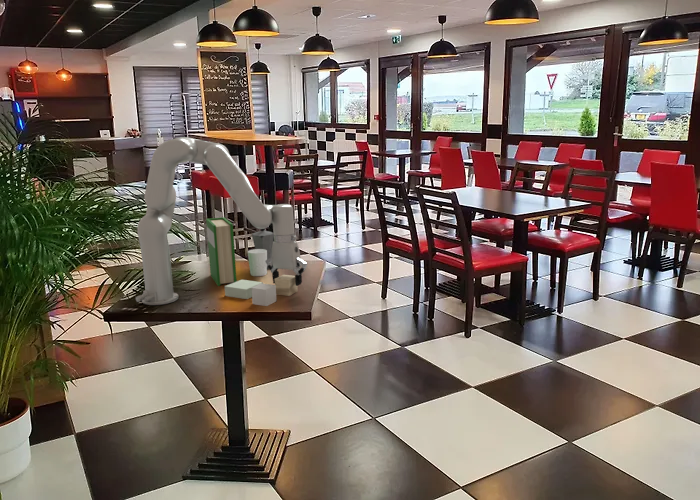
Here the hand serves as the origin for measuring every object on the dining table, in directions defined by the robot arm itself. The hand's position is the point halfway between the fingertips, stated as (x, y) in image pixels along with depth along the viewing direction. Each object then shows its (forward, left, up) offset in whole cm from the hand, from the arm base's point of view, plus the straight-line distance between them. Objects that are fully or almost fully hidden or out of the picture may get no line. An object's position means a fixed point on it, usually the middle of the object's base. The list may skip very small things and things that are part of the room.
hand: (287, 283), depth 211 cm
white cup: (+18, +25, -4) cm, 31 cm away
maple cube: (0, 0, -4) cm, 4 cm away
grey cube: (-13, +1, -4) cm, 14 cm away
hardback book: (+6, +34, -4) cm, 35 cm away
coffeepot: (+30, +30, -4) cm, 43 cm away
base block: (-7, +14, -4) cm, 17 cm away
